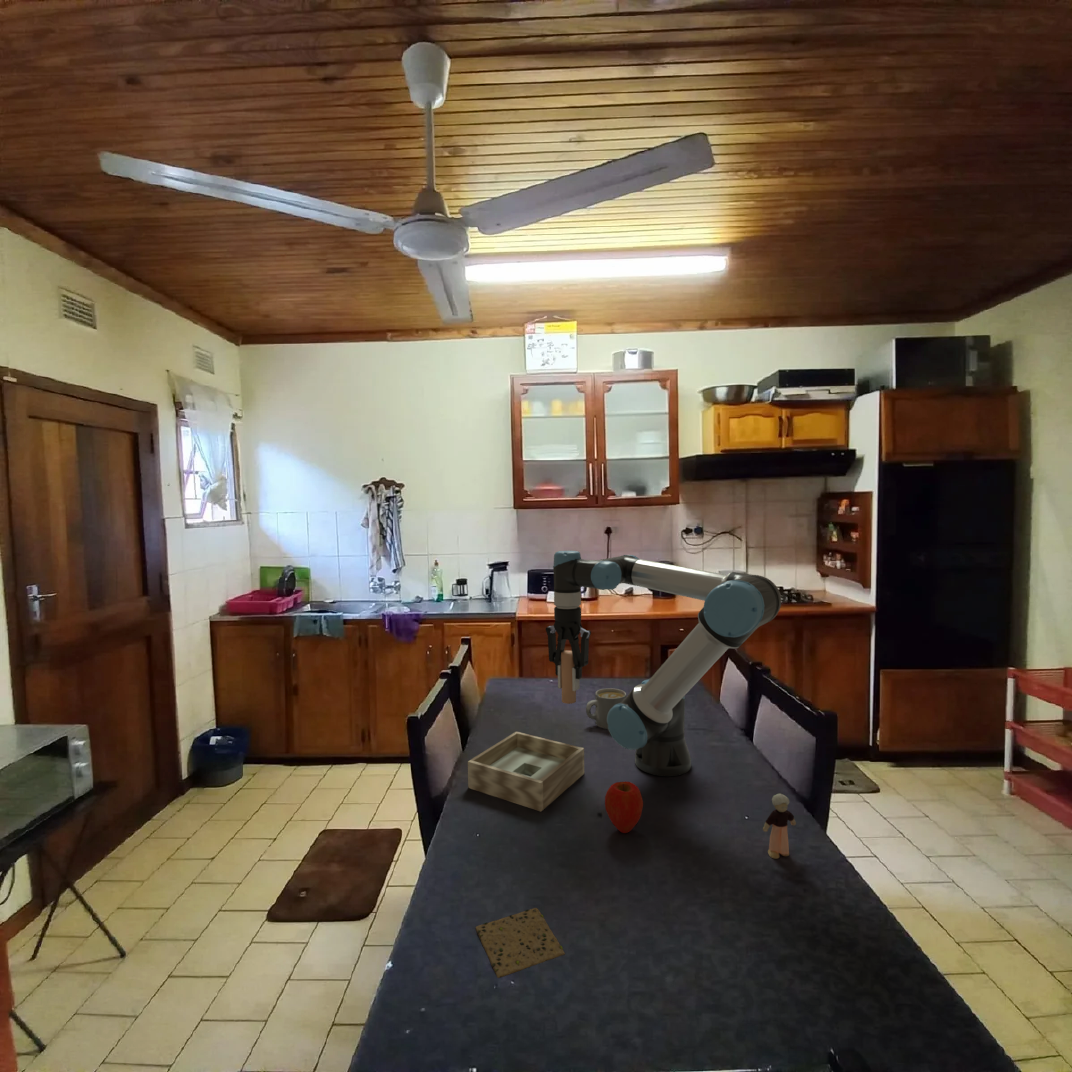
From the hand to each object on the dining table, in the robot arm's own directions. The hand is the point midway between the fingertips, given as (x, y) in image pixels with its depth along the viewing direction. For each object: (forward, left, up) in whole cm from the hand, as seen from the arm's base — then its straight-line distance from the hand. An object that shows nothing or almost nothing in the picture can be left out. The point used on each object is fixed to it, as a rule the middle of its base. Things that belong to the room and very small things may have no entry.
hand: (568, 688), depth 165 cm
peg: (0, 0, -4) cm, 4 cm away
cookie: (-26, +64, -21) cm, 72 cm away
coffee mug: (+2, -28, -21) cm, 35 cm away
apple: (-28, +25, -21) cm, 43 cm away
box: (+3, +17, -20) cm, 27 cm away
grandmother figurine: (-59, +16, -21) cm, 64 cm away
